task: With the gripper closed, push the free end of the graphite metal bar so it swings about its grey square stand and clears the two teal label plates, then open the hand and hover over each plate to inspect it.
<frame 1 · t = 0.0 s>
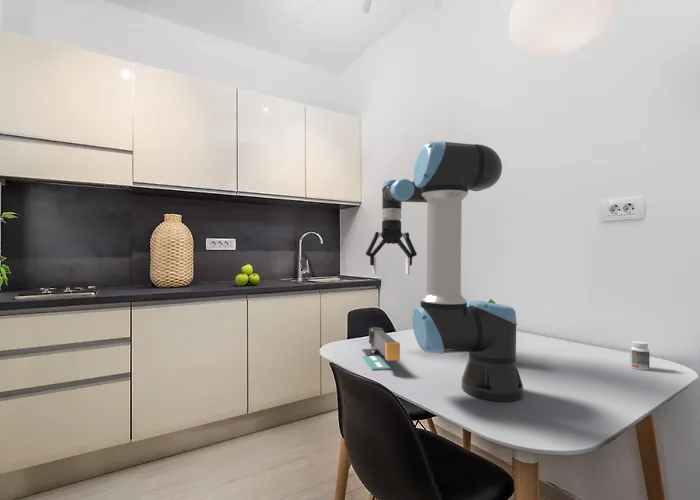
hand: (391, 274, 142), 28 cm above the table, fingers open, 13 cm apart
pill bottle: (640, 368, 116), on the table
label b: (373, 359, 121), on the table
grey square stand: (375, 353, 129), on the table
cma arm: (382, 342, 119), point 7 cm above the table, hinge at 0.0°
label a: (378, 366, 114), on the table
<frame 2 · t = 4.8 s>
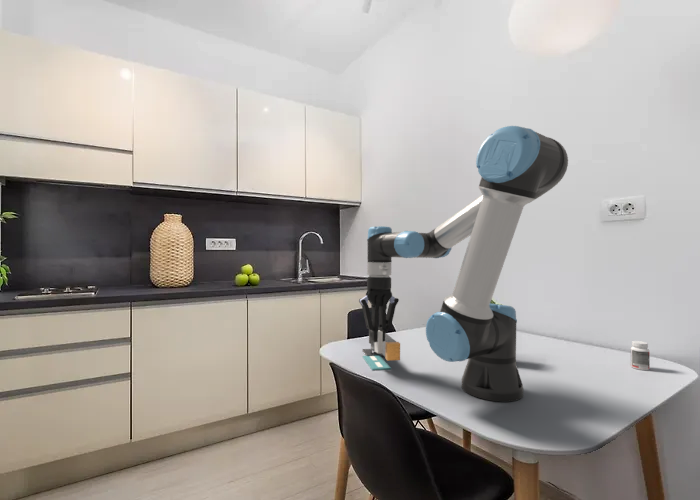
hand: (378, 352, 112), 5 cm above the table, fingers closed
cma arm: (383, 342, 119), point 7 cm above the table, hinge at 0.3°, touching gripper
everything else where it was.
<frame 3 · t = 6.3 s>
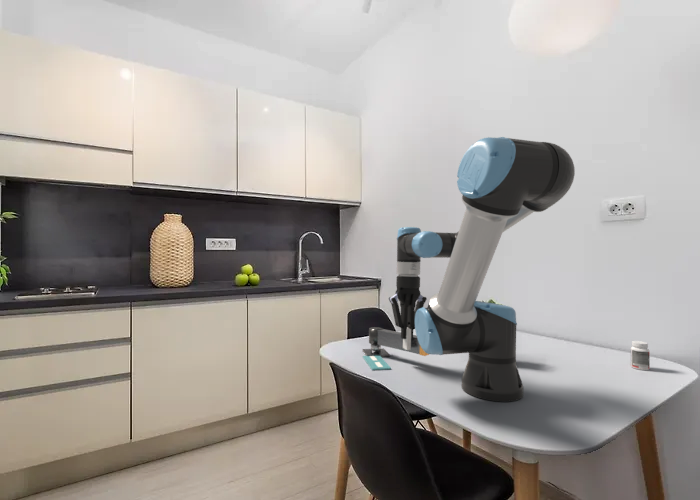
hand: (406, 348, 116), 5 cm above the table, fingers closed
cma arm: (397, 340, 122), point 6 cm above the table, hinge at 36.6°, touching gripper
everything else where it was.
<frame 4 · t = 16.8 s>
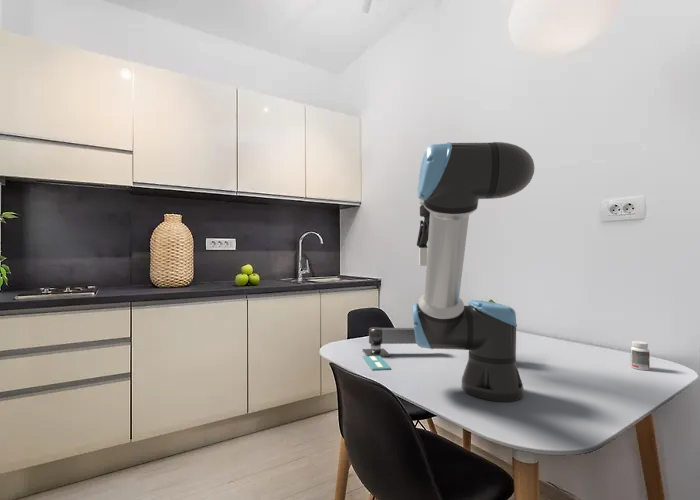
hand: (430, 266, 124), 32 cm above the table, fingers open, 13 cm apart
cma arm: (402, 335, 129), point 6 cm above the table, hinge at 84.0°
everything else where it was.
at the end: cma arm at +84° (first picture: +0°) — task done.
